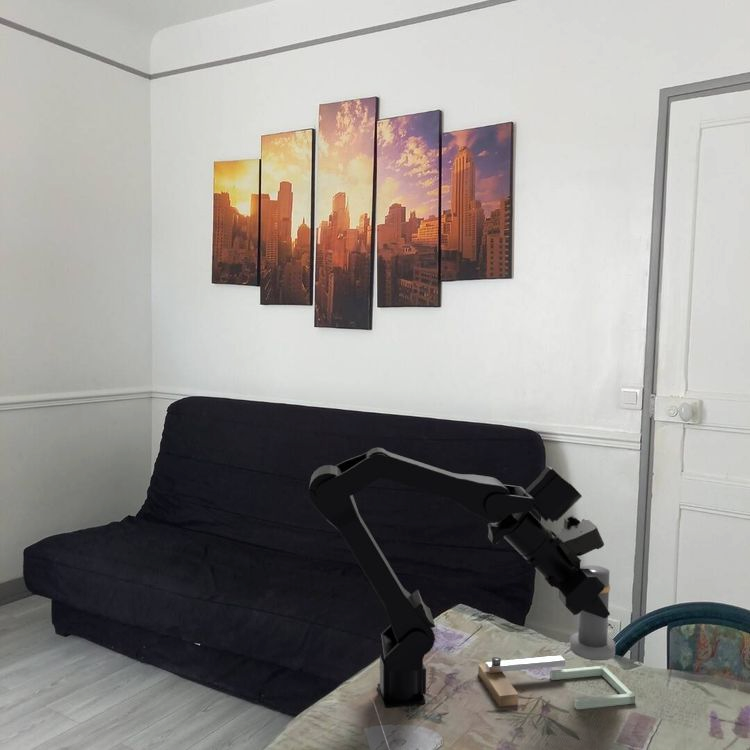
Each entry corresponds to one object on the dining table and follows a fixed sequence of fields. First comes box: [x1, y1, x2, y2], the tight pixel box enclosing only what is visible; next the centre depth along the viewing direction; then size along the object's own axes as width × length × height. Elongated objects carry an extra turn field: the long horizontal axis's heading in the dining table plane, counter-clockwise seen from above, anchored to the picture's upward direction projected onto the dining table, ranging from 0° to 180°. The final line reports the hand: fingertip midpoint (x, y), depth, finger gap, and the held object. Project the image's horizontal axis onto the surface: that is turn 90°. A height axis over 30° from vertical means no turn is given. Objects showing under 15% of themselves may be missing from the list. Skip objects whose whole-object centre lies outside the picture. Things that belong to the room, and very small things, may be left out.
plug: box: [569, 564, 616, 662], centre depth 111 cm, size 7×7×13 cm
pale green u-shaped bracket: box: [549, 665, 636, 710], centre depth 112 cm, size 10×10×1 cm
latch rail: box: [477, 663, 519, 707], centre depth 112 cm, size 3×10×2 cm, turn 10°
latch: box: [485, 655, 566, 673], centre depth 115 cm, size 13×2×2 cm, turn 100°
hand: (602, 609), depth 111 cm, fingers closed on plug, 4 cm apart
